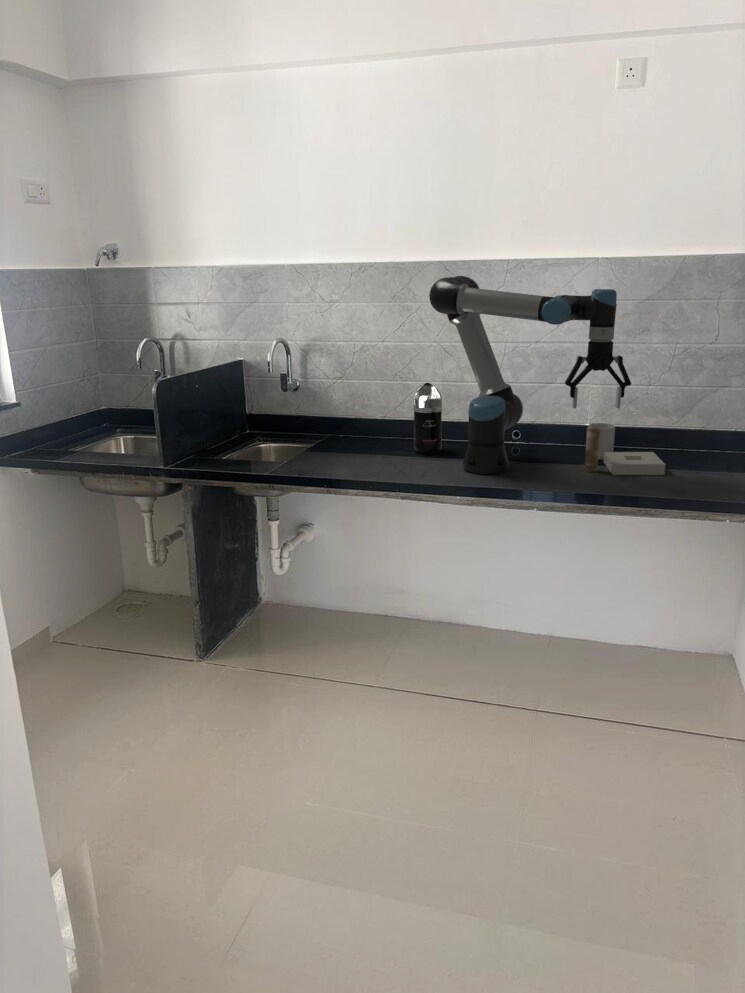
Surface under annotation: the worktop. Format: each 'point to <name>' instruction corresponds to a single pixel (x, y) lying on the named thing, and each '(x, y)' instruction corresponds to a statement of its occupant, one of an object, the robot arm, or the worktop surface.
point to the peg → (592, 449)
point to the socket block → (634, 463)
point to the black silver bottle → (427, 419)
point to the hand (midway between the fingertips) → (595, 407)
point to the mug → (605, 438)
